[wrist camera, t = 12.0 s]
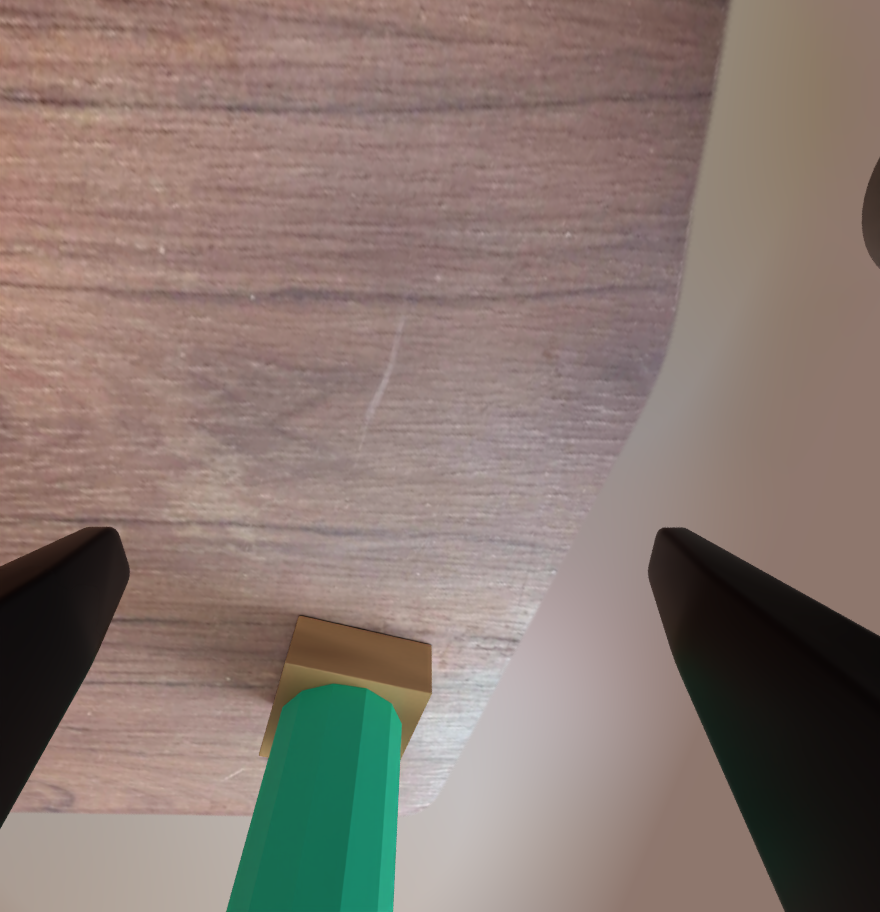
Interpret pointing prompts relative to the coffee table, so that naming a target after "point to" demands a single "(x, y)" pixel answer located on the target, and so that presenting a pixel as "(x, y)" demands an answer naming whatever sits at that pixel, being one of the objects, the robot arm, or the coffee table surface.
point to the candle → (325, 808)
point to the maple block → (355, 670)
